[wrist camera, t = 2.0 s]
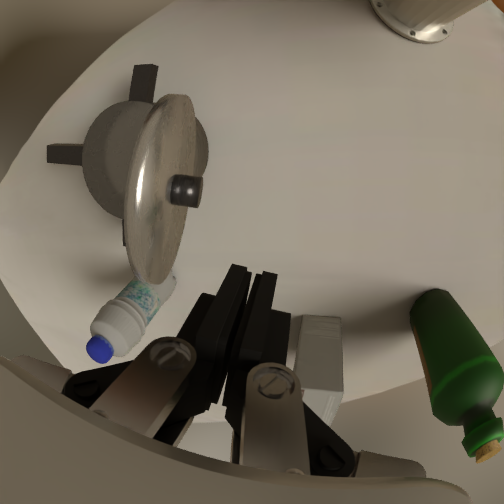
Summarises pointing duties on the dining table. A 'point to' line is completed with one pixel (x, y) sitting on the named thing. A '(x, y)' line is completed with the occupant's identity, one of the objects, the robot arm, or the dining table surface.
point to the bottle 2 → (459, 372)
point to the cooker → (119, 144)
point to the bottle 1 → (126, 318)
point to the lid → (161, 188)
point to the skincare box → (320, 365)
